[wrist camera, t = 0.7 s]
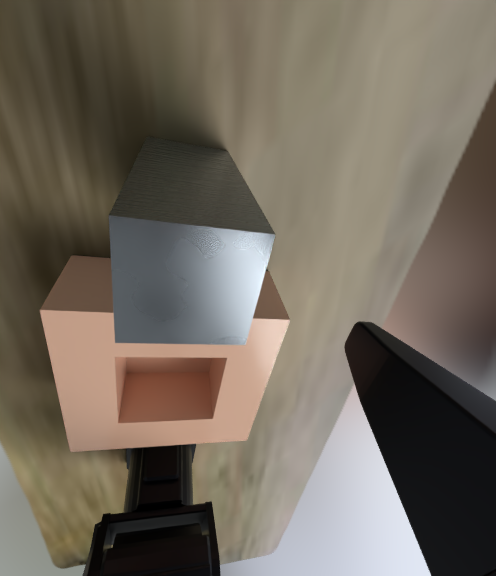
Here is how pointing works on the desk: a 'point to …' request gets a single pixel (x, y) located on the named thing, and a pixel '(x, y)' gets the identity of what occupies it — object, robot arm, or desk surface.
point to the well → (151, 370)
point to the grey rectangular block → (186, 248)
